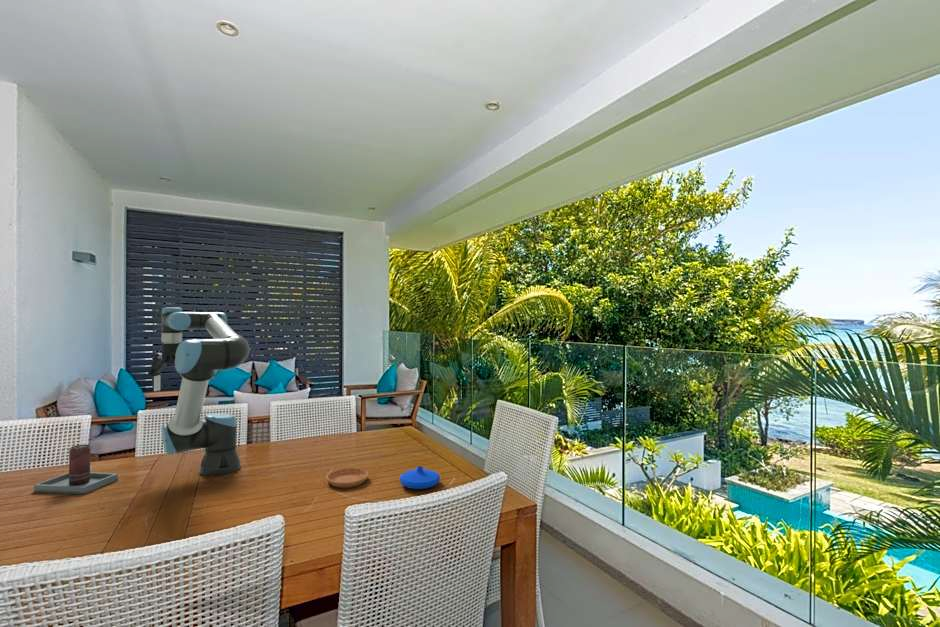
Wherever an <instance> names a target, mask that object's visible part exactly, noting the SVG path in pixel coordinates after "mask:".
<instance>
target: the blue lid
mask: <svg viewBox="0 0 940 627" xmlns="http://www.w3.org/2000/svg"><path fill="white" fill-rule="evenodd" d="M440 480H441V476H440V475H439V473H438V472H437V471H435V470H431V469H426V468H424V467H423V466H421V465H419V466H417V468H416V469H411V470H407V471H405V472H403V473H402V474H401V475H400V476H399V482H400V484H401V485H403V486H404V487H407V488H409V489H412V490H424V489H429V488H432V487H434V486H435V485H437V484H439V482H440Z"/></svg>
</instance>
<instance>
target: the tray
mask: <svg viewBox="0 0 940 627" xmlns="http://www.w3.org/2000/svg"><path fill="white" fill-rule="evenodd" d="M118 475H119V473H110V472H94V471H91V472H90V481H89V482H87V483H85V484H82V485H75V486H72V485H70V484H69V472H67V473H64V474H61V475H57V476H56V477H52V478H50V479H46V480H44V481H41V482H39V483H36V484H34V485H33V492H35V493H51V494H52V493H54V494H68V495H69V494H71V495H72V494H73V495H85V494H88V493H91V492H93V491H95V490H97V489H100V488H102V487H105V486H107V485H109V484H112V483H115V482H117V481H118V480H119V476H118Z"/></svg>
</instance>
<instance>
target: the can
mask: <svg viewBox="0 0 940 627" xmlns="http://www.w3.org/2000/svg"><path fill="white" fill-rule="evenodd" d="M68 452H69V453H68V473H69V484H70V485H72V486H75V485H82V484H85V483H87V482H89V481H90V466H91V446H90V444H78V445H73V446H71V447H70V449H69V450H68Z"/></svg>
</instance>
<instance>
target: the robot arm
mask: <svg viewBox="0 0 940 627" xmlns="http://www.w3.org/2000/svg"><path fill="white" fill-rule="evenodd" d="M160 315H161V316H160V317H161V345H160V346H161V351H160V352H157V353H155V354H154V355H155V356H154V360H153V361H152V364H151V366H150V368H149V370H148V372H147V374H148V375H150V376H152V384H153V392H157V391H158V392H159V391H161V379H162V378H161V375H160V374H161V372H163V370H164V368H165V367H166V366H167V365H174V368H175V371H176V372H177V373H178V374H179V375H180V377H182V378H181V383H180V388H179V393H178V397H177V402H176V407H175V412H174V415H173V416H172V417H171V418H170V419H169V421H168V423H166V424H163V425H161V437H162V438H161V439H162V444H163V450H164V451H165V453H166V454H168V455H173V454H180V453H184V452H191V451H195V450H201V449H204V454H203V457H202V460H201V462H200V466H199V474H200V475H203V476H222V475H225V474H226V475H227V474H230V473H234V472H236V471H238V470H239V469H240V468H241V466H242V465H241V464H242V461H241V459H240V455H239V453H238V450H237V429H238V423H237V417H236V416H235V415H233V414H230V413H229V414H228V413H208V414H206V415H205V416H204V418H202V417H201V415H202V411H203V407H204V403H205V398H206V394H207V390H208V386H209V381H211V379H213V378H214V376H215V375H216V372H217V371H224V370H225V371H226V370H231V369H235V368H237V367H239V366H240V365H242V364H243V363H244V362H245V361H246V360H247V359H248V356H249V354H250V349H251V348H250V344H249V341H248V340H247V339H246V338H245V337H244V336H242V335H240V334H238V333H236V331H234V330H233V329H232V327H230V326H229V324H228V317H227V314H226V313H225V312H222V311H221V312H220V311H209V312H208V311H202V312H200V311H183V309H182V307H171V306H170V307H168V306H167V307H163V308H162V309H161V314H160ZM185 330H186V331H187V330H188V331H189V330H206V331H207V332H208V333H209V335H210V336H211V337H212V338H209V339H208V338H205V339H198V338H193V339H186V340H183V331H185Z"/></svg>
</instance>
